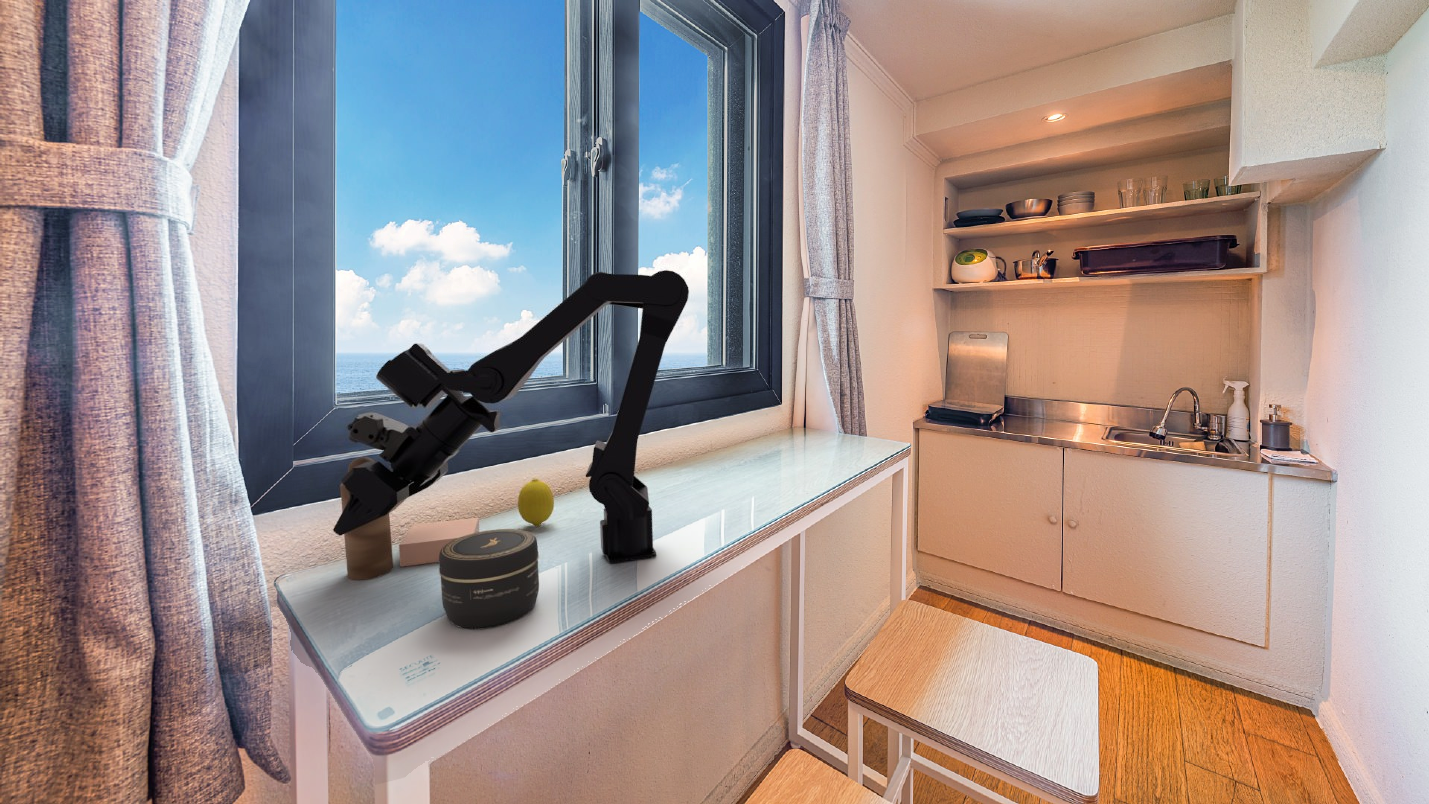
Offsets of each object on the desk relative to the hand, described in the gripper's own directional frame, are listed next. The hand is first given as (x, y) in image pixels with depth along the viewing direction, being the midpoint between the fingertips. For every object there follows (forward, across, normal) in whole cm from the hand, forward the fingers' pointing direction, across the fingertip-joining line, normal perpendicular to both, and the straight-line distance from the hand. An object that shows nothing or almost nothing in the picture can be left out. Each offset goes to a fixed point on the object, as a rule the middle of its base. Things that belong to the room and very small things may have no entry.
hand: (355, 521), depth 68 cm
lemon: (-9, -14, +19) cm, 26 cm away
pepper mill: (+4, 0, +6) cm, 7 cm away
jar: (-9, +14, +19) cm, 25 cm away
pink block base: (-1, -6, +11) cm, 12 cm away
